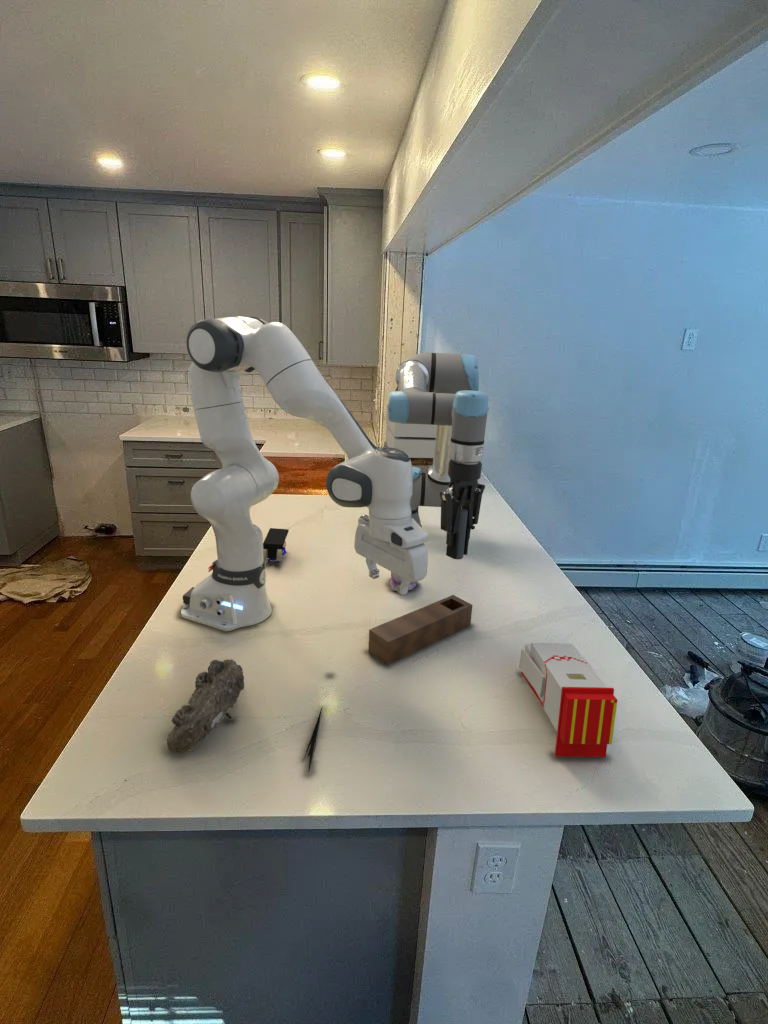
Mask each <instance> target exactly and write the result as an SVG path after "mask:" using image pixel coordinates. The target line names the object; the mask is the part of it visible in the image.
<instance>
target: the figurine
mask: <svg viewBox="0 0 768 1024" xmlns="http://www.w3.org/2000/svg"><path fill="white" fill-rule="evenodd" d="M402 582H403V581H401V576H399V575H397V574H395V573H393V572H391V571H390V580H389V585H390V587H391V588H390V589H391V590H392V591H395V592H397V590H398V589H397V585H401V583H402ZM417 585H418V581H417V582H414V583H412V582H411V583H410V584H409V586H408V591H411V590H413V589H414V588H415V587H416V586H417Z"/></svg>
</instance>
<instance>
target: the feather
mask: <svg viewBox="0 0 768 1024" xmlns="http://www.w3.org/2000/svg"><path fill="white" fill-rule="evenodd" d="M329 675H330V676H331V675H332V674H331V673H330V674H329ZM322 710H323V707H321V708H320V710H319V713H318V716H317V719H316V723H315V725H314V728H313V731H312V733H311V737H310V739H309V742H308V745H307V748H306V751H305V754H304V757H303V760H302V763H301V767H302V765H303V763H304V761H305V758H308V759H309V760H308V762H307V763H308V764H307V766H308V771H310V770H311V766H312V765H311V764H312V760H313V757H315V756H314V755H315V751H316V749H315V746H317V739H318V733H319V729H320V722H321V717H322V712H323V711H322ZM313 754H314V755H313ZM306 755H307V757H306Z"/></svg>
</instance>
